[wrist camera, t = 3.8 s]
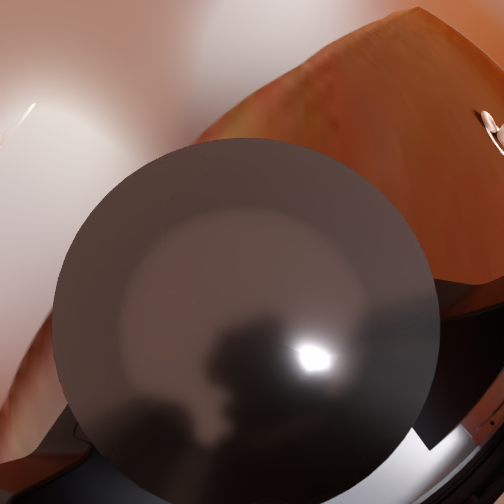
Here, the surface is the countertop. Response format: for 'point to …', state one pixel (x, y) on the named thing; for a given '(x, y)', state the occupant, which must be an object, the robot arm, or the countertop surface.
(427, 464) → the tray
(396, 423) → the capped labeled canister
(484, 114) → the teacup and saucer
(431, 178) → the countertop surface
